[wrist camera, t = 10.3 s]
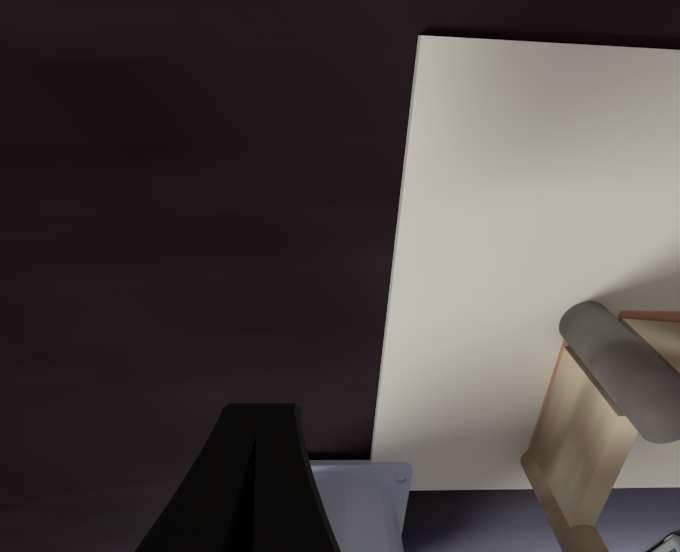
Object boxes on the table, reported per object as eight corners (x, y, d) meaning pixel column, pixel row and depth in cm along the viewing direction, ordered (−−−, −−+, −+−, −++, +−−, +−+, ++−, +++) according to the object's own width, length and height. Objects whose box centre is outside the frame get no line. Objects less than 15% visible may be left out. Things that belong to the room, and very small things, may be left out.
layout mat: (743, 480, 25) (750, 487, 25) (367, 483, 24) (368, 492, 23) (1010, 68, 16) (1028, 69, 16) (418, 35, 14) (421, 35, 14)
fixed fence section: (552, 469, 23) (614, 583, 19) (512, 469, 23) (564, 585, 19) (614, 301, 19) (716, 395, 14) (566, 300, 19) (652, 394, 14)
